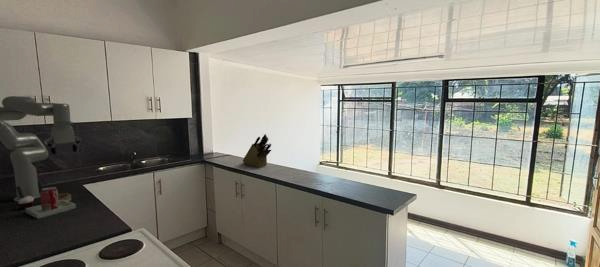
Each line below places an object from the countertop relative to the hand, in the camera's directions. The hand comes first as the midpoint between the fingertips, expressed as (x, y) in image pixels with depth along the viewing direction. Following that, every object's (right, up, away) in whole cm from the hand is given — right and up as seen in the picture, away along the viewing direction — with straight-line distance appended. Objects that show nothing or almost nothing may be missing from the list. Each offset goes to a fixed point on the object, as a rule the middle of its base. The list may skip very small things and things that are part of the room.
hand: (64, 152), depth 160 cm
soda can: (+4, -30, -14) cm, 34 cm away
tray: (+5, -31, -13) cm, 34 cm away
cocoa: (-14, -31, -9) cm, 35 cm away
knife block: (+100, -19, +99) cm, 142 cm away
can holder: (-5, -29, 0) cm, 30 cm away
